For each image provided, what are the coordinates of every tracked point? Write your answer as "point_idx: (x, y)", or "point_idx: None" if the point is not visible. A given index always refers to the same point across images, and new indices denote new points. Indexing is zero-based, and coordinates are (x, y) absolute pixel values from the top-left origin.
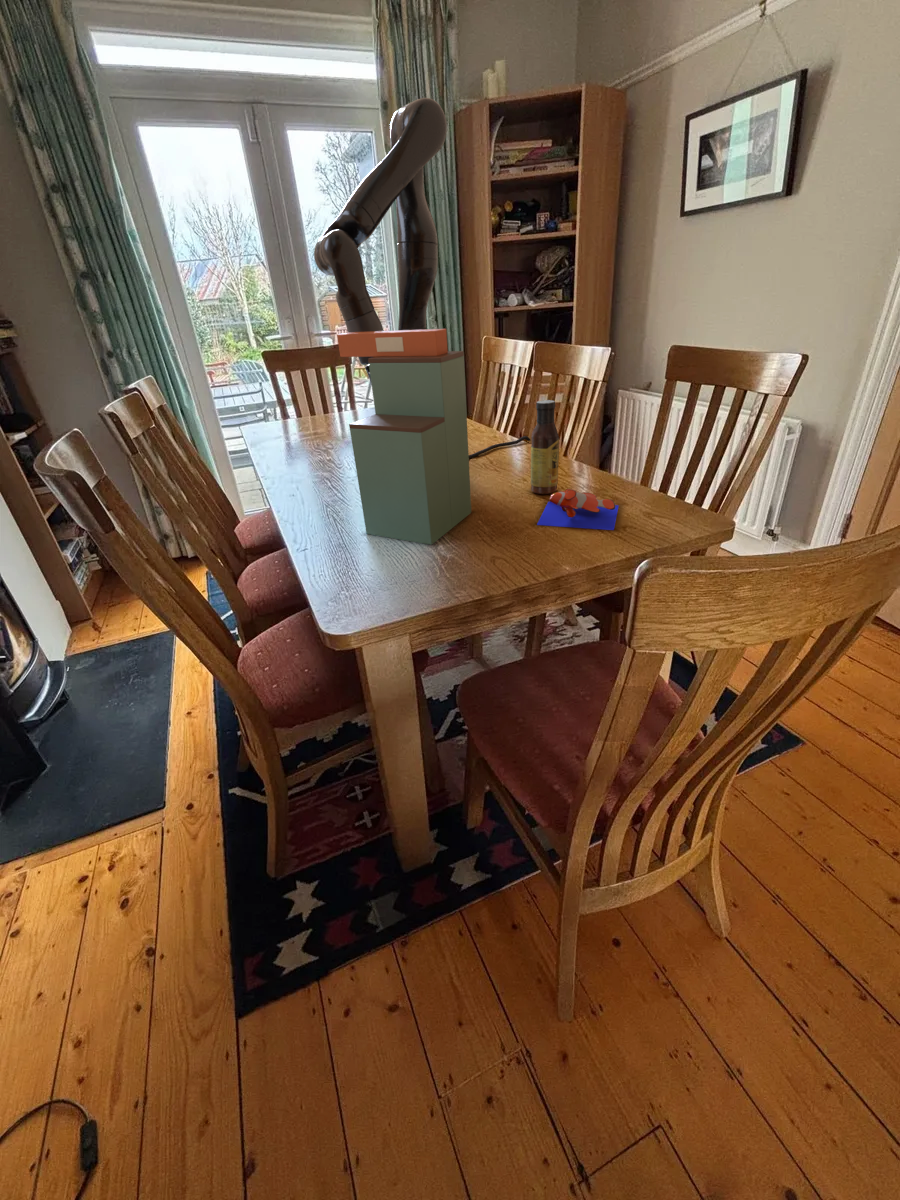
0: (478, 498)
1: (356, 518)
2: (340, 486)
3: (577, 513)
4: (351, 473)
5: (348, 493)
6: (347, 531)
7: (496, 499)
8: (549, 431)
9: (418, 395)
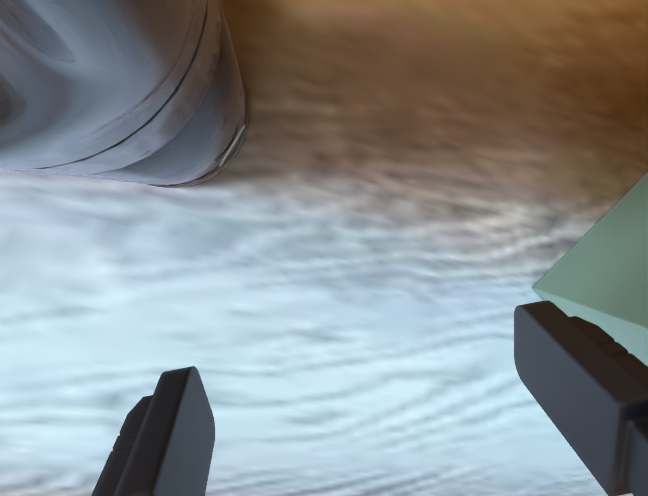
0: (589, 61)
1: (554, 460)
2: (218, 491)
3: None
4: (59, 440)
5: (314, 468)
6: None
7: (627, 9)
8: None
9: None
